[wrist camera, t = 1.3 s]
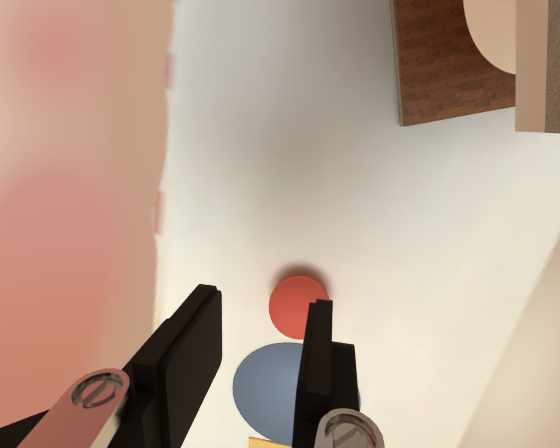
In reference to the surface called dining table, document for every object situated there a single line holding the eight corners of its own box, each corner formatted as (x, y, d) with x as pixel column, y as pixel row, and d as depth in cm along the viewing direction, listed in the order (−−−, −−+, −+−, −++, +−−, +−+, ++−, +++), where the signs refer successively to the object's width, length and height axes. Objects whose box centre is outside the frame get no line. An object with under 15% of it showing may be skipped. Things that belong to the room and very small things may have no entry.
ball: (276, 262, 31) (263, 290, 26) (333, 269, 30) (333, 299, 25) (273, 312, 33) (261, 347, 28) (328, 320, 32) (326, 357, 27)
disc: (233, 334, 35) (232, 335, 34) (368, 353, 33) (368, 355, 32) (233, 433, 39) (232, 435, 39) (352, 456, 37) (352, 458, 37)
